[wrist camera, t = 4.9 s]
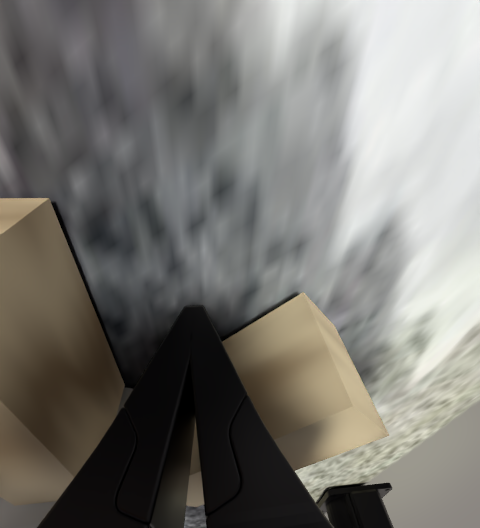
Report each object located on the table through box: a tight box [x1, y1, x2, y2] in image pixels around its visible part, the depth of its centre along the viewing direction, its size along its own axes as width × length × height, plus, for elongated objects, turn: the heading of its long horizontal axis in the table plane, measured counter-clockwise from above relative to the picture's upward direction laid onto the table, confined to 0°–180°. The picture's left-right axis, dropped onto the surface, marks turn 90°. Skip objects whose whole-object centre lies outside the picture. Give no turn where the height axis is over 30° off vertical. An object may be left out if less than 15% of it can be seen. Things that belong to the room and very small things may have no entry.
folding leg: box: [186, 292, 389, 507], centre depth 10 cm, size 8×2×4 cm, turn 129°
